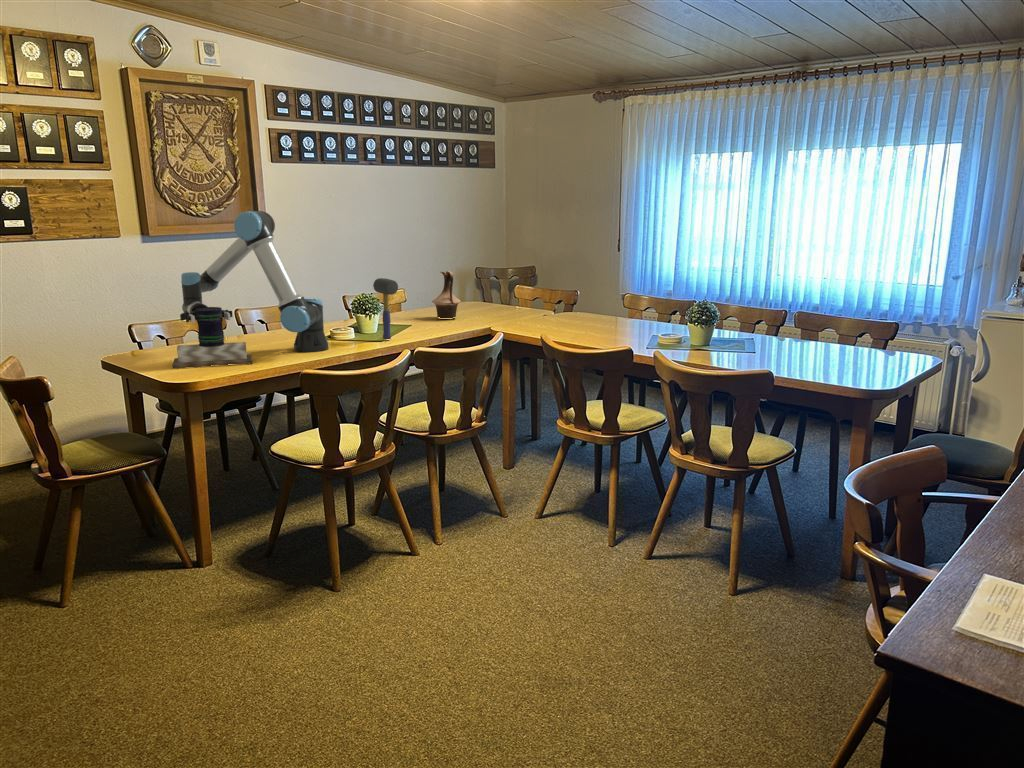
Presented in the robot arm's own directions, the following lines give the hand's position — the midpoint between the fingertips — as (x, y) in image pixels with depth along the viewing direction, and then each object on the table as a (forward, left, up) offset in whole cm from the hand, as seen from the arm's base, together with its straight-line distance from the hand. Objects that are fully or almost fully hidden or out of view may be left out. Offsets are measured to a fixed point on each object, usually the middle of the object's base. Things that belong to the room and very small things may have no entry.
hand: (211, 318), depth 293 cm
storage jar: (+3, -3, -12) cm, 12 cm away
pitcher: (-61, -142, -19) cm, 156 cm away
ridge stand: (+2, -2, -19) cm, 19 cm away
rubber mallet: (-50, -68, -19) cm, 87 cm away
